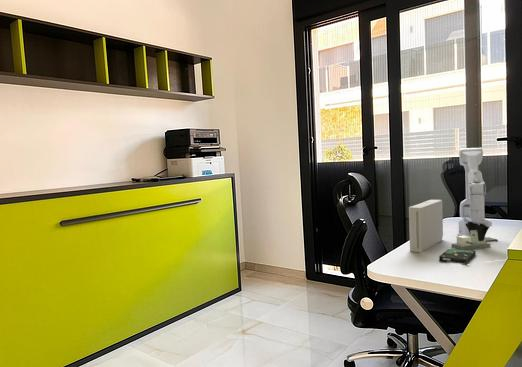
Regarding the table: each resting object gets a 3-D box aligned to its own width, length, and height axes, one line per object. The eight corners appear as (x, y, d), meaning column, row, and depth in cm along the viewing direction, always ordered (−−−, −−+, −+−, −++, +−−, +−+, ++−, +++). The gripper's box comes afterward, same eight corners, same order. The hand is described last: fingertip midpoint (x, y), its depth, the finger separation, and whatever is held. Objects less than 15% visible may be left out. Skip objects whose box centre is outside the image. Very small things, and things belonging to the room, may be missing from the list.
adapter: (456, 247, 178) (456, 236, 177) (464, 246, 179) (464, 235, 178) (468, 251, 171) (468, 239, 170) (476, 250, 171) (476, 238, 171)
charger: (478, 242, 180) (478, 229, 180) (484, 244, 176) (484, 231, 176) (470, 243, 179) (470, 230, 179) (477, 245, 175) (476, 232, 175)
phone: (468, 241, 189) (468, 239, 188) (488, 239, 191) (488, 236, 191) (477, 244, 183) (477, 241, 183) (497, 241, 186) (497, 239, 185)
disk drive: (467, 266, 153) (475, 257, 165) (467, 259, 153) (475, 250, 164) (438, 263, 160) (449, 253, 171) (438, 256, 160) (449, 247, 171)
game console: (408, 251, 178) (407, 207, 176) (430, 239, 197) (430, 199, 196) (421, 253, 174) (420, 207, 172) (443, 240, 193) (442, 199, 192)
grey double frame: (451, 247, 179) (451, 242, 179) (478, 244, 182) (478, 239, 182) (462, 251, 172) (462, 246, 172) (490, 248, 175) (490, 243, 175)
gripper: (457, 208, 183) (458, 237, 184) (481, 212, 168) (482, 244, 170) (471, 207, 184) (471, 236, 185) (495, 211, 170) (496, 242, 171)
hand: (477, 239), depth 177 cm, fingers closed on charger, 4 cm apart
